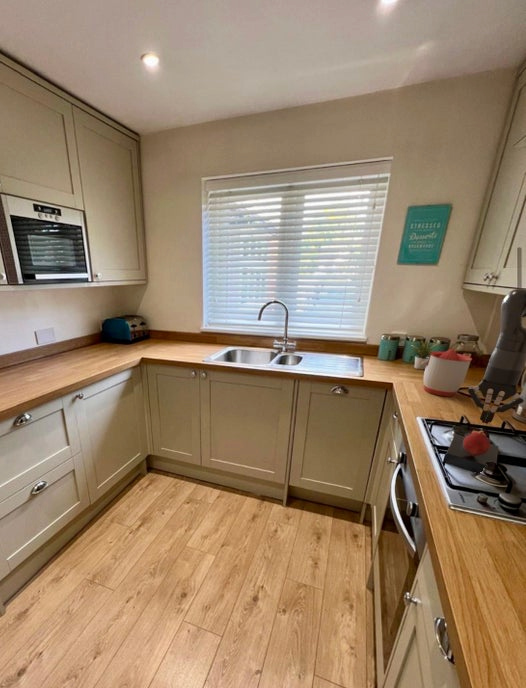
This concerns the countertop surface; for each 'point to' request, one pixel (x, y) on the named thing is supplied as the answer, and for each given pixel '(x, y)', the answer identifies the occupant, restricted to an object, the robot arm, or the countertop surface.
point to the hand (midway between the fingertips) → (484, 422)
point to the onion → (476, 443)
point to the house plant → (423, 354)
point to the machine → (464, 459)
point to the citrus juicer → (445, 372)
